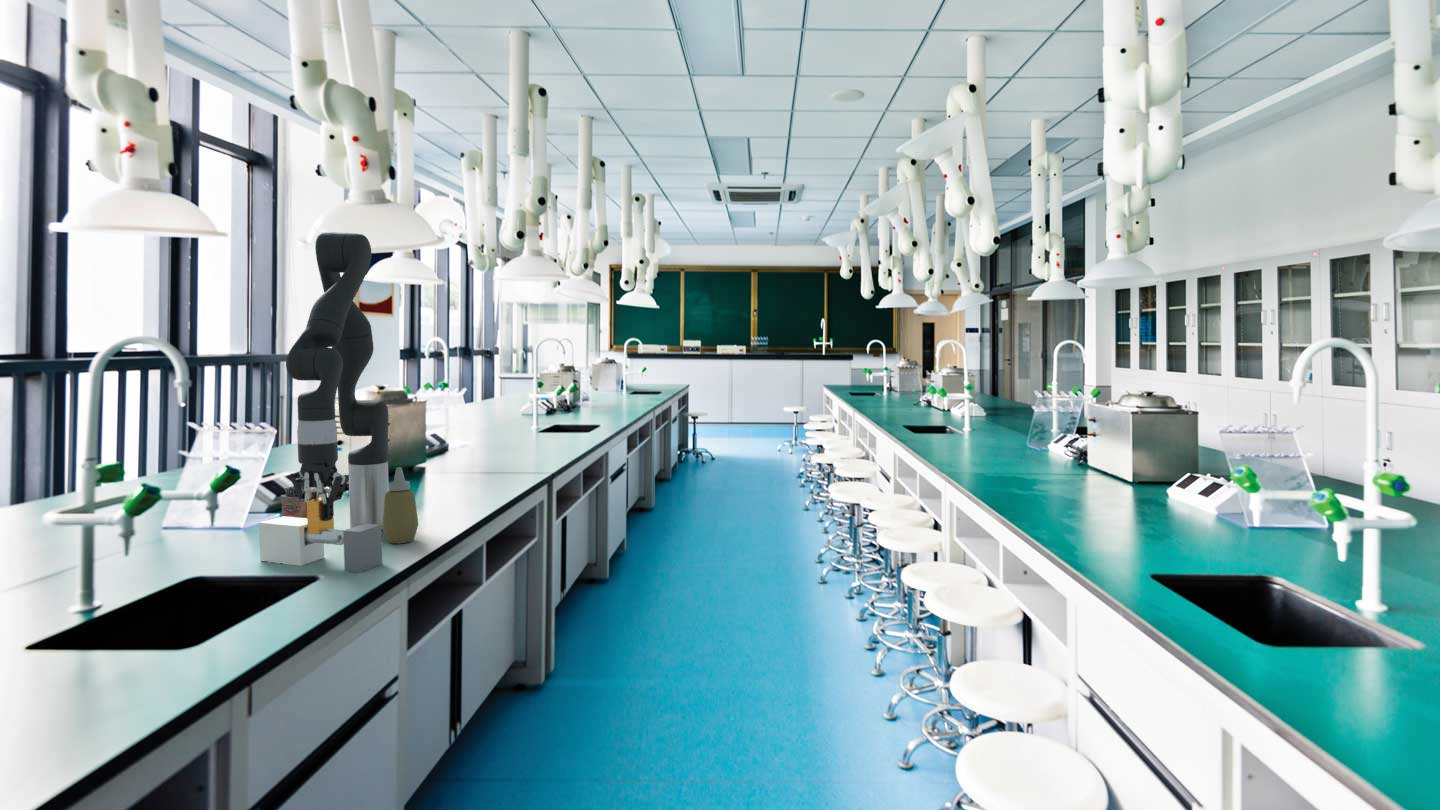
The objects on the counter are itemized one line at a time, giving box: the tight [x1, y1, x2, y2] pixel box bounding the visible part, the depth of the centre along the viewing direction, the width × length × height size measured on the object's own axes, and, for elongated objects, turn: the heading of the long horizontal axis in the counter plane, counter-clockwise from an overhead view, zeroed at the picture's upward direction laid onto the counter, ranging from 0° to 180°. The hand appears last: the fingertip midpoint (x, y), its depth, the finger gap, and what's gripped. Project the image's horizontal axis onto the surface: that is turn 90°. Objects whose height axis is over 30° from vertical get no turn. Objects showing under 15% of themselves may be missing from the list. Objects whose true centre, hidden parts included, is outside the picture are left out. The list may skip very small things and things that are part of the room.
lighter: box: [280, 485, 307, 518], centre depth 194 cm, size 8×3×10 cm, turn 73°
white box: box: [258, 516, 325, 567], centre depth 162 cm, size 11×6×9 cm, turn 74°
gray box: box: [343, 524, 383, 573], centre depth 157 cm, size 4×6×9 cm, turn 164°
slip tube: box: [304, 496, 345, 546], centre depth 161 cm, size 18×4×10 cm, turn 74°
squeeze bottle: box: [382, 466, 419, 545], centre depth 178 cm, size 8×8×18 cm
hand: (320, 519), depth 160 cm, fingers closed on slip tube, 3 cm apart
